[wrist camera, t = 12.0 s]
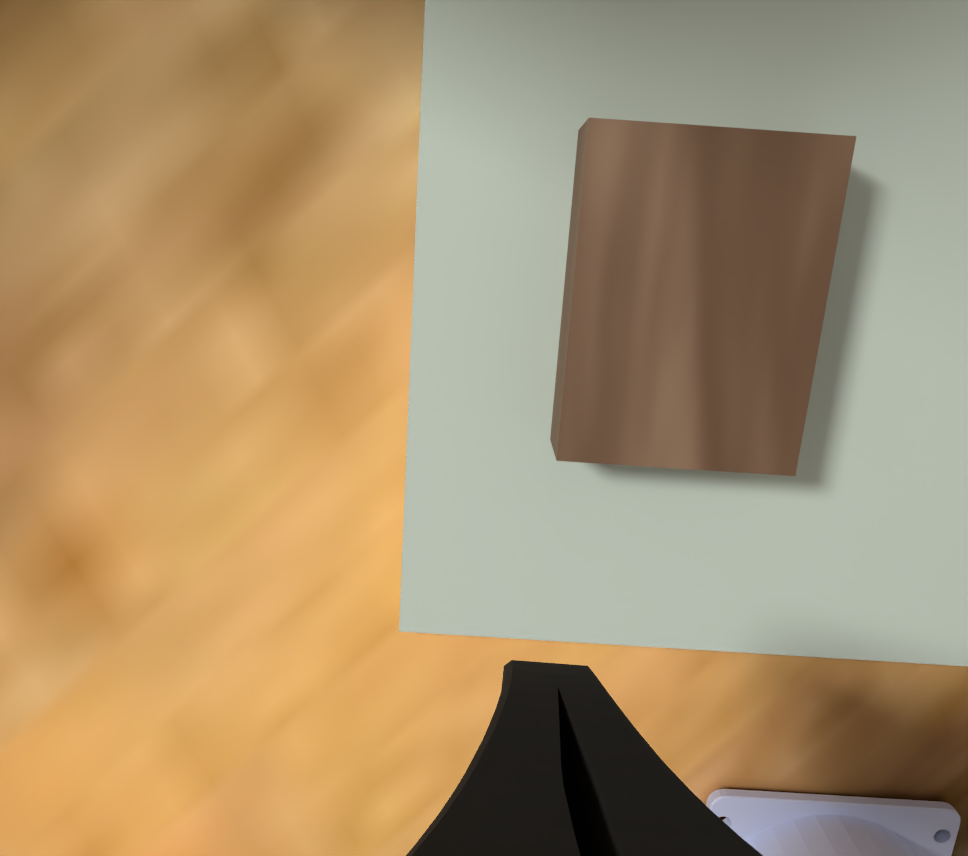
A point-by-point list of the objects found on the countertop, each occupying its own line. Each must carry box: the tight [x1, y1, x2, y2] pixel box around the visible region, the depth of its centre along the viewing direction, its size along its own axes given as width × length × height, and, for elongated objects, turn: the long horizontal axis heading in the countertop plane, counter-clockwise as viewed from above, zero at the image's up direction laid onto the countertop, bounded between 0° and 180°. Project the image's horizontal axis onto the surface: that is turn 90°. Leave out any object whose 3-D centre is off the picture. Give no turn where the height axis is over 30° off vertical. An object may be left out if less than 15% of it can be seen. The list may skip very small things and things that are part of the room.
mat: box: [399, 0, 968, 666], centre depth 20 cm, size 18×18×1 cm
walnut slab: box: [550, 118, 856, 476], centre depth 18 cm, size 2×8×6 cm
